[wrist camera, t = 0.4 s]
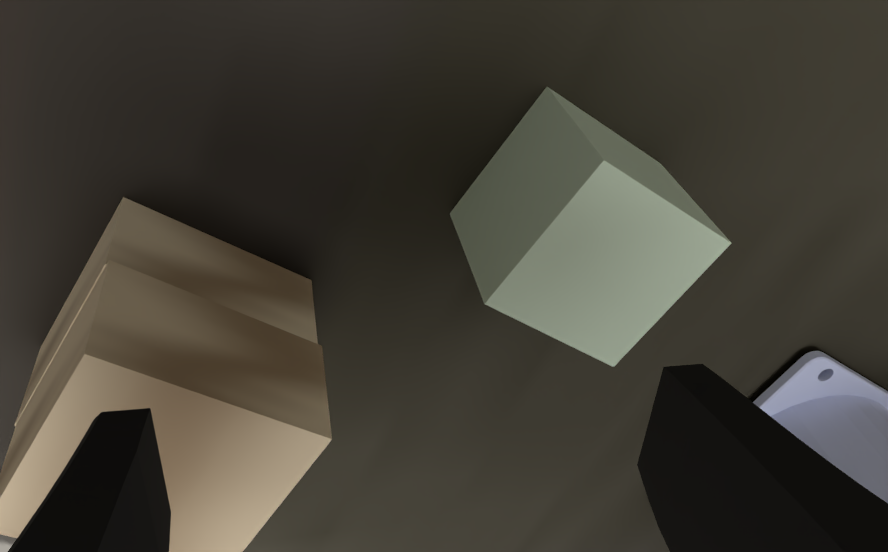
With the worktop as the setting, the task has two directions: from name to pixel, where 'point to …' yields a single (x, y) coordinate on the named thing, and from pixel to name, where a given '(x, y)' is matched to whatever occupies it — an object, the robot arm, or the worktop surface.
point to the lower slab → (185, 277)
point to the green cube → (581, 232)
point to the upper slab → (178, 407)
